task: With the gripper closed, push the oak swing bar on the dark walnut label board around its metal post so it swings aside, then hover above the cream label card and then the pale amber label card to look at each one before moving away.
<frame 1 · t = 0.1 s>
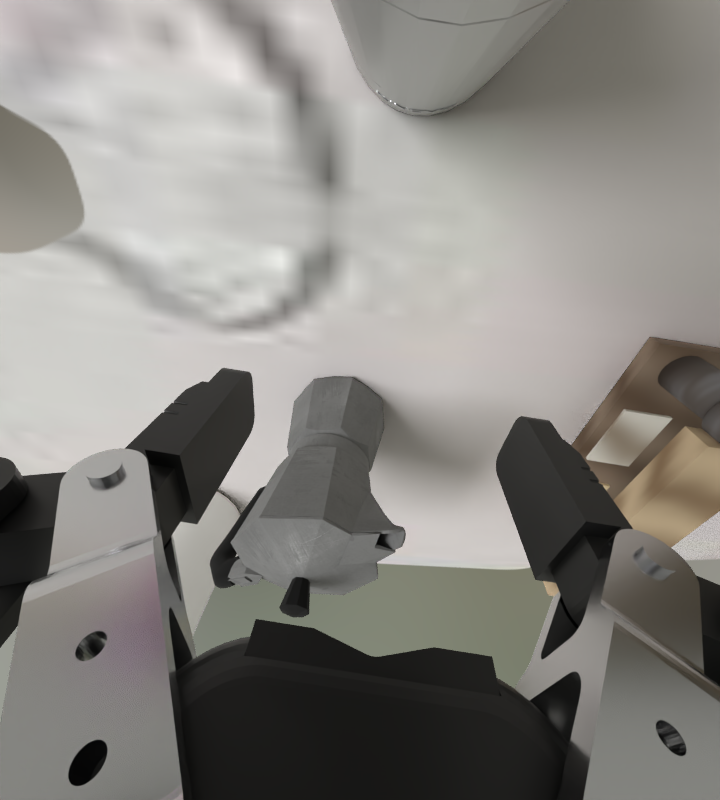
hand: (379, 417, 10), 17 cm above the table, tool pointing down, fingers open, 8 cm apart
swing arm: (645, 520, 26), point 8 cm above the table, hinge at 0.0°
coffeepot: (331, 415, 32), on the table
white jar: (199, 507, 44), on the table
label board: (644, 459, 32), on the table
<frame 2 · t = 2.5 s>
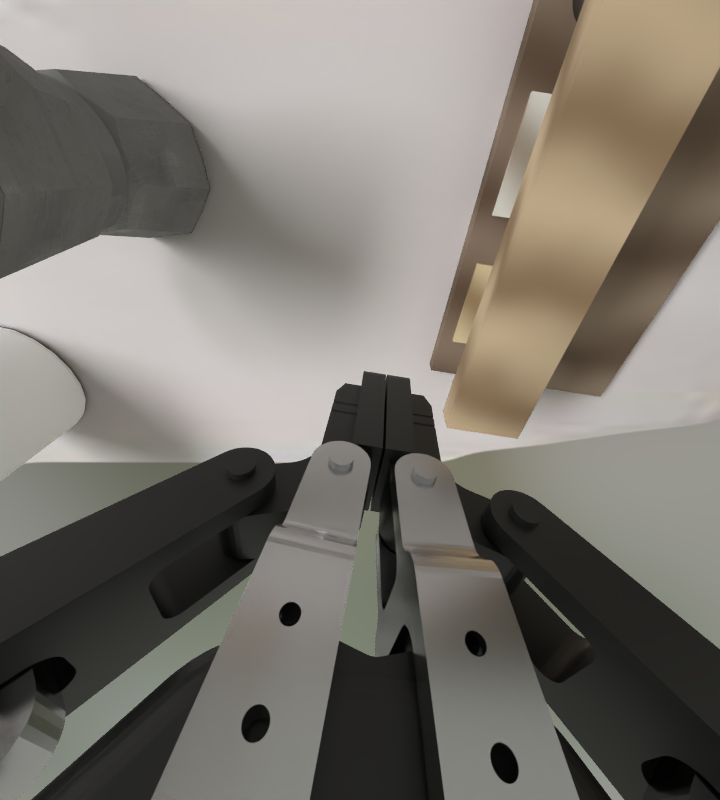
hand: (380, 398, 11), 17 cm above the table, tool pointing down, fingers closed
swing arm: (561, 236, 16), point 8 cm above the table, hinge at 0.0°
coffeepot: (138, 175, 23), on the table
white jar: (30, 377, 34), on the table
label board: (579, 228, 22), on the table
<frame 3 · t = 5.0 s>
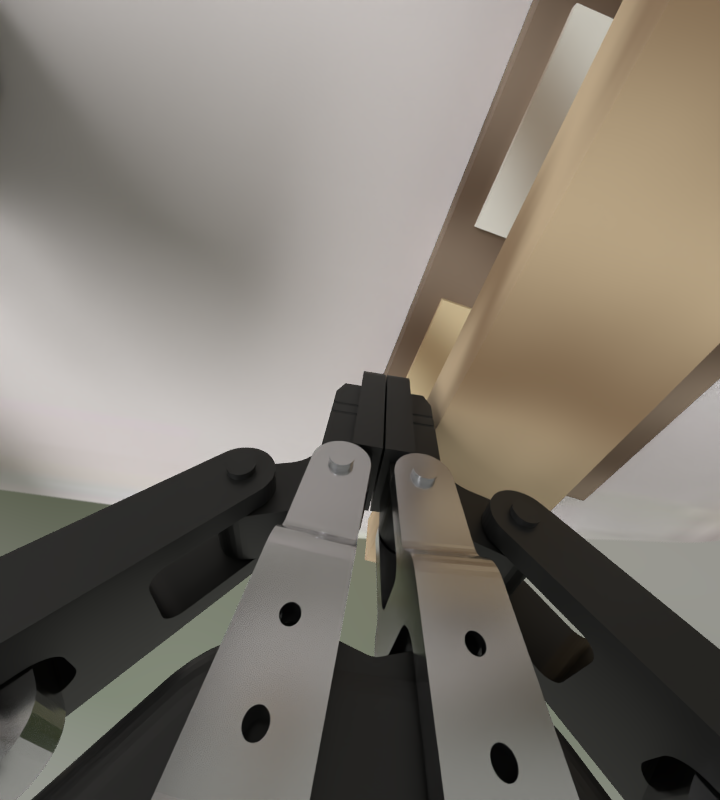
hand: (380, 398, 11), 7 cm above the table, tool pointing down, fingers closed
swing arm: (602, 292, 8), point 8 cm above the table, hinge at 1.2°, touching gripper
label board: (602, 272, 14), on the table
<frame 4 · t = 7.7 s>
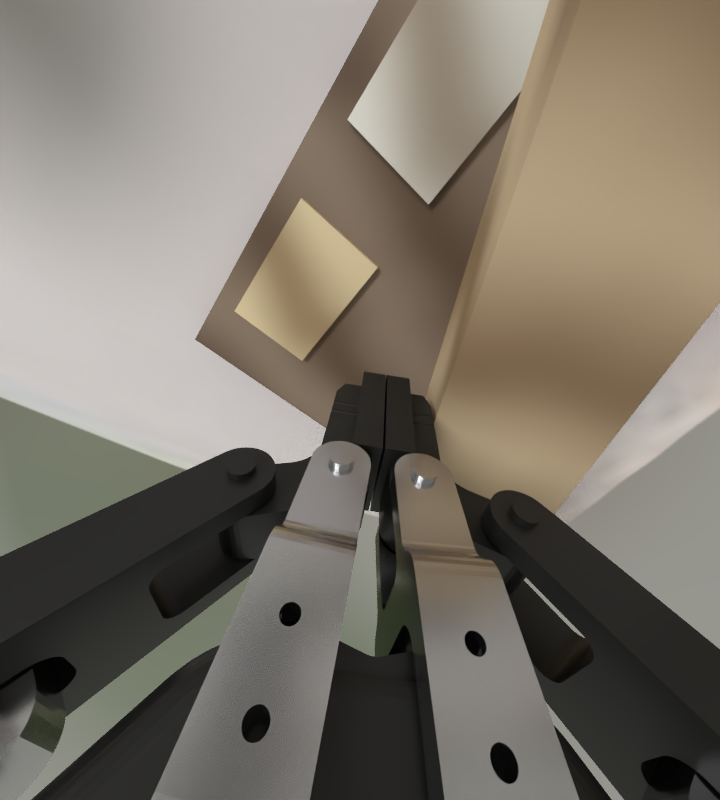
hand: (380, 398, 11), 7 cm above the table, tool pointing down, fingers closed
swing arm: (582, 271, 8), point 8 cm above the table, hinge at 31.1°, touching gripper
label board: (465, 244, 14), on the table
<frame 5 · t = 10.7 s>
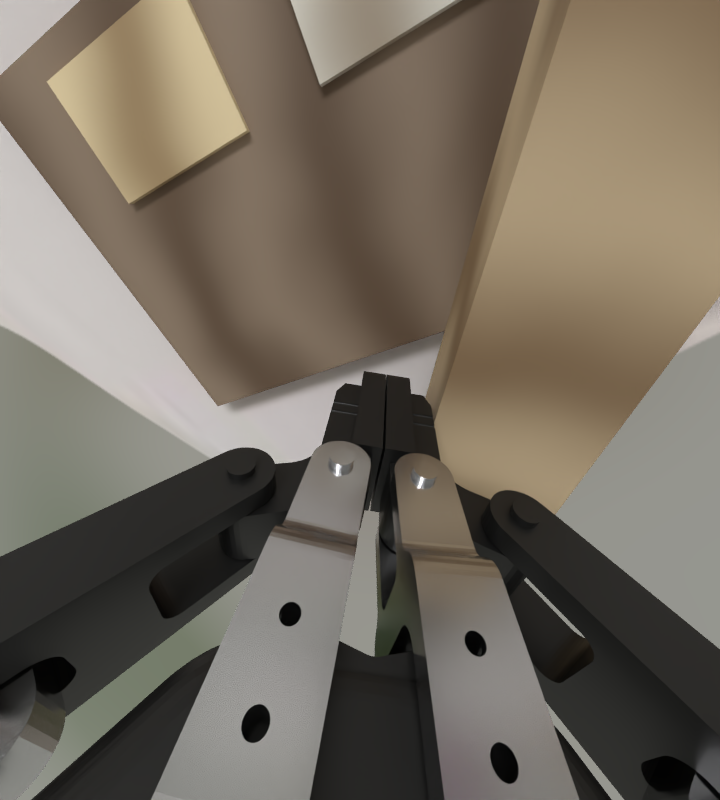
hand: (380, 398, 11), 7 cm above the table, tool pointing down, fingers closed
swing arm: (579, 269, 8), point 7 cm above the table, hinge at 60.5°, touching gripper
label board: (353, 171, 13), on the table
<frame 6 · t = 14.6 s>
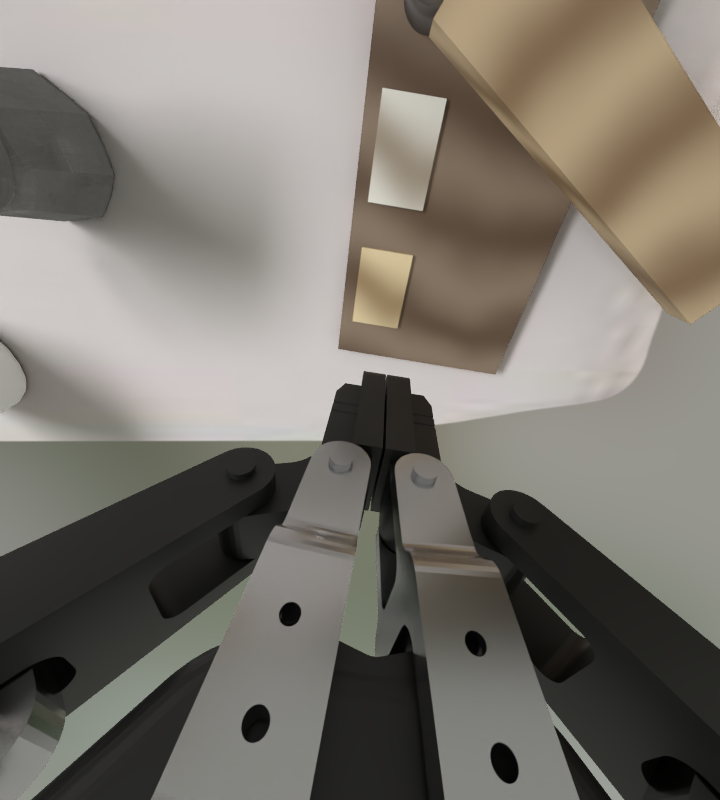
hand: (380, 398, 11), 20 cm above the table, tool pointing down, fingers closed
swing arm: (602, 123, 15), point 8 cm above the table, hinge at 61.1°
coffeepot: (48, 162, 25), on the table
label board: (453, 215, 24), on the table
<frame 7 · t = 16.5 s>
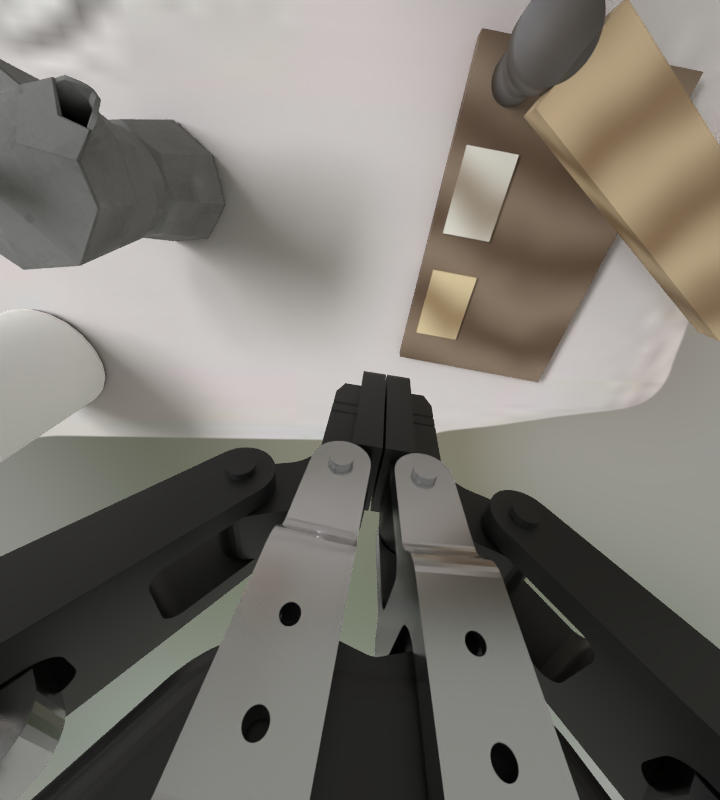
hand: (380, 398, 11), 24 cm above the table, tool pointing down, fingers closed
swing arm: (655, 184, 20), point 8 cm above the table, hinge at 61.1°
coffeepot: (167, 192, 29), on the table
white jar: (58, 356, 40), on the table
label board: (512, 245, 29), on the table
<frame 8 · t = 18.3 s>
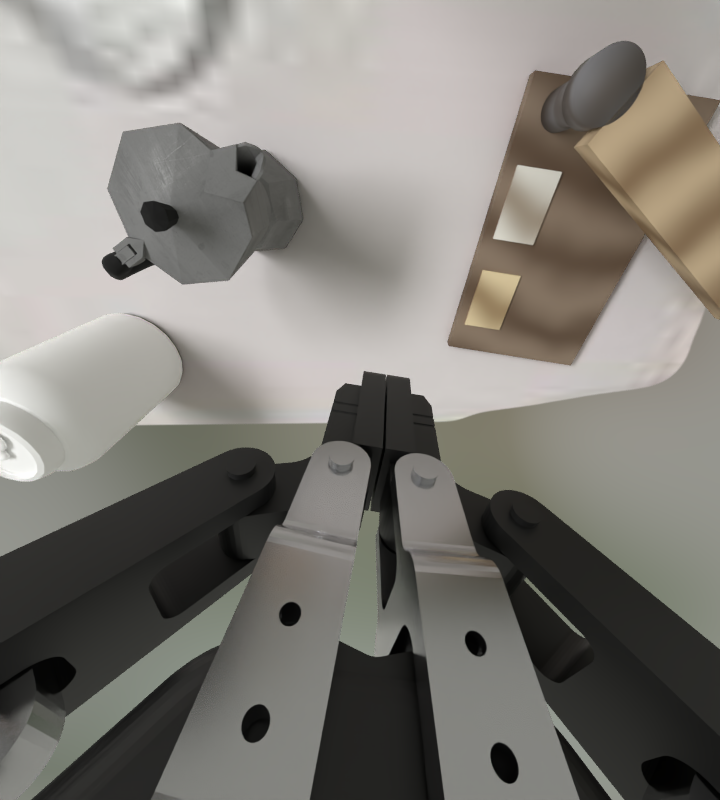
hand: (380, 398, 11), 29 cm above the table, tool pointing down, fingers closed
swing arm: (682, 198, 24), point 8 cm above the table, hinge at 61.1°
coffeepot: (253, 209, 34), on the table
white jar: (141, 354, 45), on the table
label board: (551, 246, 33), on the table
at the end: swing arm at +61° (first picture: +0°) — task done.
